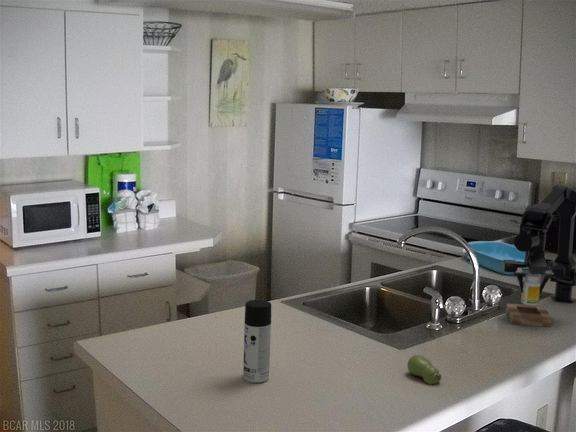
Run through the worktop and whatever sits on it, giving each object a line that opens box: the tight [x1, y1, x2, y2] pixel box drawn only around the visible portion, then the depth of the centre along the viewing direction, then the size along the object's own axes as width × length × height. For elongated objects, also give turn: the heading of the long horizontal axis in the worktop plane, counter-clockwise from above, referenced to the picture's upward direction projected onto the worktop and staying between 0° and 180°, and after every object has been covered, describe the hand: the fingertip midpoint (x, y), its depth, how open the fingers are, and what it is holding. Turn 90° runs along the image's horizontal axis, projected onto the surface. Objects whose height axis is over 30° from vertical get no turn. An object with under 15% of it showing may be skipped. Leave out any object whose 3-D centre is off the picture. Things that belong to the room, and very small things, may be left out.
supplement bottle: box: [520, 273, 540, 306], centre depth 225 cm, size 5×5×10 cm
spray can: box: [242, 299, 272, 384], centre depth 175 cm, size 7×7×20 cm
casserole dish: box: [464, 240, 530, 276], centre depth 292 cm, size 37×22×7 cm, turn 21°
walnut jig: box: [505, 302, 553, 328], centre depth 227 cm, size 12×12×3 cm
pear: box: [407, 354, 442, 385], centre depth 180 cm, size 6×5×10 cm
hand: (530, 292), depth 226 cm, fingers closed on supplement bottle, 5 cm apart
